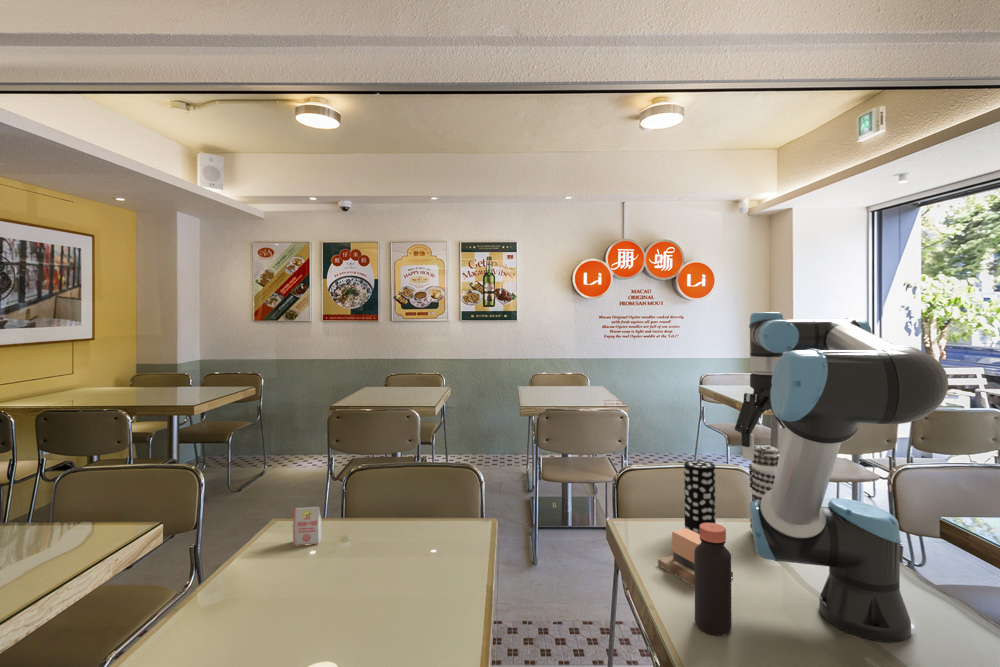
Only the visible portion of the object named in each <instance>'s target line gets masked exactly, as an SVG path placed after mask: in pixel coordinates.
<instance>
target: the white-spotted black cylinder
mask: <svg viewBox="0 0 1000 667" xmlns="http://www.w3.org/2000/svg"><path fill="white" fill-rule="evenodd" d="M683 465H684V469H683V470H684V472H683V473H684V474H683V476H684V479H683V480H684V481H683V482H684V488H683V489H684V494H683V495H684V529H685V528H687V529H689V530H691V531H694V532H696V533H698V534H699V525H700V524H702V523H716V464H714V463H712V462H709V461H706V460H705V461H704V460H695V459H694V460H687V461H685V462H684V463H683Z"/></svg>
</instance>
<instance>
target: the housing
mask: <svg viewBox="0 0 1000 667" xmlns="http://www.w3.org/2000/svg"><path fill="white" fill-rule="evenodd" d="M700 543H701V540H700V536H699V534H698V533H696V532H694V531H691V530H689V529H687V528H685V527H684V528H681V529H677V530H673V531H671V548H672V550H671V551H672V553H673V552H674V553H676V554H678V555H680V556H682V557H684V558H685V559H687V560H689V561H691V562H693V563H694V551H695V548H696V546H698V545H699V544H700Z"/></svg>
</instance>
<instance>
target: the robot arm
mask: <svg viewBox="0 0 1000 667" xmlns="http://www.w3.org/2000/svg"><path fill="white" fill-rule="evenodd" d="M748 328H749V352H750V353H749V358H750V359H749V360H750V361H749V363H750V364H749V370H750V372H752V373H750V374H749V387H750V388H752V390H753V392H752V393H747V392H745V393H744V394H743V402H742V405H741V408H740V410H739V411H740V412H739V414H738V417H737V421H736V423H735V426H734V431H735V432H736V431H737V433H741V446H742V447H741V448H742V459H743V460H747V461H750V462H751V461H754V448H755V434H753V431H754V429H755V427H756V425H757V423H758V421H759V420H760V417H761V416H762V414H763V413H765V412H766V411H769V410H771V412H772V414H773V416H774V417H775V419H776V421H777V422H778V423H779V427H778V429H777V431H778V433H777V434H778V436H777V437H778V442H777V444H778V445H777V446H778V448H777V449H778V452H780V455H779V460H778V464H777V469H776V474H775V479H774V483H773V488H772V489H771V490H769V491H768V492H766V493H765V494H764V496H763V497H762V500H761V501H760V500H756V501H752V500H751V501H750V503H749V511H750V512H749V514H750V519H751V522H750V524H751V523H752V530H753V534H752V536H753V543H754V548H755V551H756V553H757V555H758V557H760V558H761V559H765V560H770V561H774V562H778V563H779V562H785V563H795V564H802V565H812V566H822V567H828V568H829V569H828V576H827V578H826V581H825V584H824V586H823V589H822V590H821V593H820V596H819V603H818V604H819V607H818V608H819V611H820V614H821V615H822V616H823V618H824V619H826V621H828V622H829V623H831V624H832V625H834V626H835V627H836V628H838V629H841V630H842V631H845V632H847V633H850V634H852V635H853V636H857V637H861V638H864V639H867V640H871V641H872V640H873V641H877V642H886V643H896V642H897V643H898V642H904V641H905V640H908V639H909V638H910V637H911V635H912V622H911V618H910V615H909V613H908V609H907V606H906V604H905V601H904V598H903V596H902V593H901V588H900V587H901V586H900V585H901V584H900V576H901V572H900V571H901V570H900V568H901V565H900V563H901V560H900V558H901V543H902V539H901V535H900V524H899V522H898V519H897V518H896V517H895V516H894V515H893V514H892V513H890V512H889V511H886V510H885V509H882V508H880V507H878V506H876V505H873V504H869V503H867V502H863V501H859V500H854V499H850V498H843V497H837V498H835V497H834V498H831V499H830V500H829V501H828V503H827V505H828V506H822V505H823V502H824V498H825V496H826V492H827V489H828V486H829V483H830V480H831V477H832V473H833V470H834V467H835V464H836V460H837V459H838V454H839V451H840V449H841V445H842V444H843V443H846V442H847V441H849V440H851V439H852V438H854V436H855V434H856V433H857V432H858V429H859V426H860V424H871V425H875V424H877V425H878V424H879V425H901V424H909V423H912V422H915V421H918V420H921V419H923V418H925V417H927V416H929V415H930V414H931V413H933V412H934V411H935V410H937V409H938V408H939V407H940V406H941V404H942V403H943V401H944V400H945V398H946V396H947V393H948V390H949V378H948V375H947V372H946V370H945V369H944V366H943V365H942V364H941V362H939V361H938V359H936V358H935V357H933V356H932V355H930V354H929V353H927V352H925V351H922V350H921V349H918V348H916V347H912V346H908V345H896V344H893V343H892V342H889V341H888V340H886V339H884V338H882V337H880V336H878V335H876V334H874V333H873V332H872V328H871V326H870V323H869V322H868V321H867V320H865V319H861V318H860V319H859V318H849V317H848V318H847V317H846V318H836V319H835V318H833V319H831V318H830V319H784V315H783V314H782V313H781V312H779V311H776V312H775V311H770V312H769V311H767V312H752V313H751V315H750V316H749V325H748Z"/></svg>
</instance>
